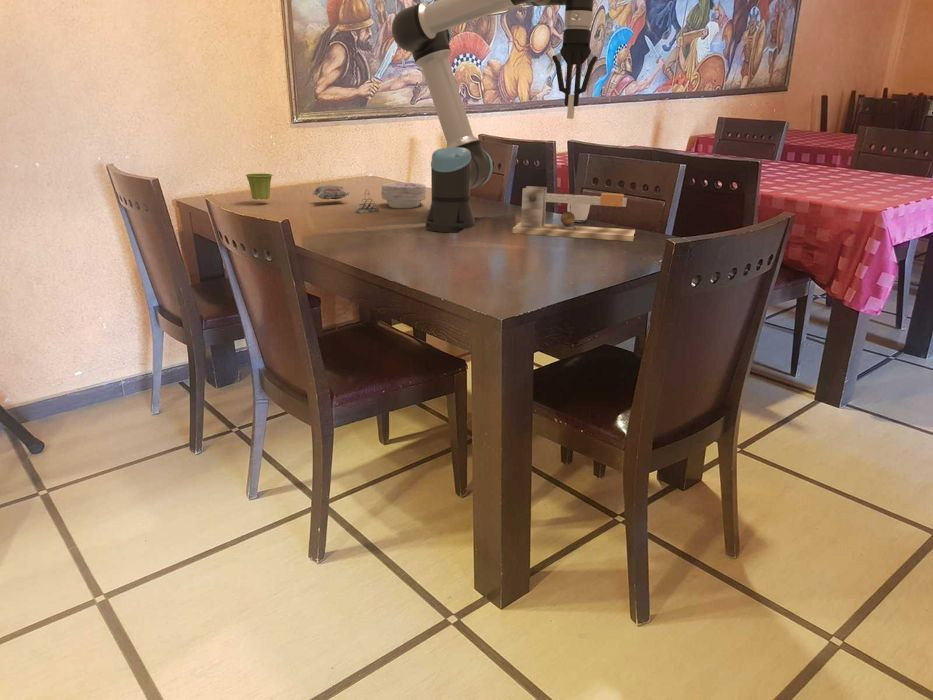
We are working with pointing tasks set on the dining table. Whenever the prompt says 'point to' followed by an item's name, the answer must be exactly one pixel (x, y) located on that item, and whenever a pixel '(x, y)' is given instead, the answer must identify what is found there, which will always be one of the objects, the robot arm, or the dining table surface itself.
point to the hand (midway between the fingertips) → (570, 118)
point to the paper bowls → (403, 194)
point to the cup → (579, 210)
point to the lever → (588, 199)
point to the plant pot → (259, 185)
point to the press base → (579, 232)
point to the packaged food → (330, 192)
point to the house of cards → (367, 209)
